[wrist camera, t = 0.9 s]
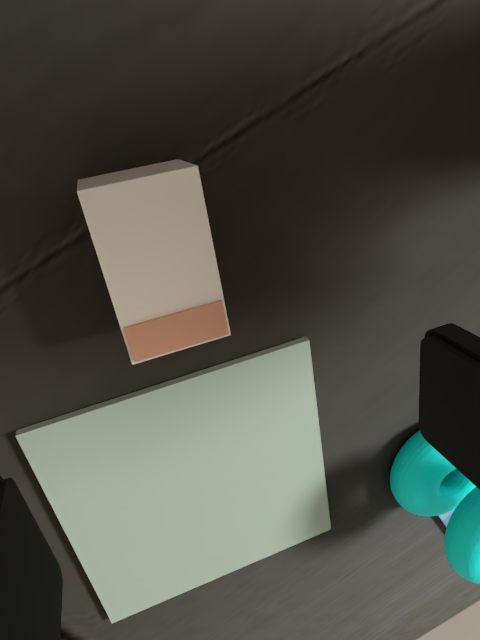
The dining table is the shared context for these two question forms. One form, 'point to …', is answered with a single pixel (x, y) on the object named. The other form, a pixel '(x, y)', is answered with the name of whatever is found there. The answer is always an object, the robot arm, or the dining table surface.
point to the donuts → (440, 500)
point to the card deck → (156, 256)
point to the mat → (187, 476)
